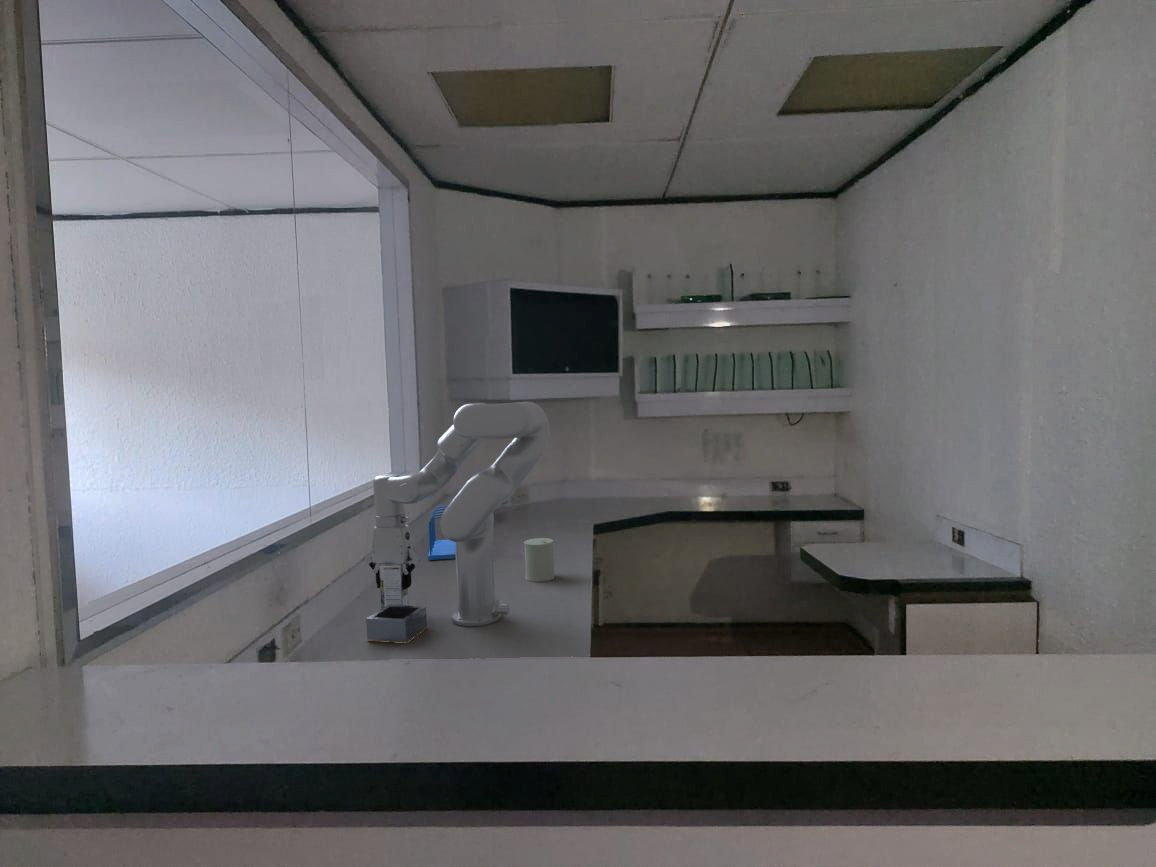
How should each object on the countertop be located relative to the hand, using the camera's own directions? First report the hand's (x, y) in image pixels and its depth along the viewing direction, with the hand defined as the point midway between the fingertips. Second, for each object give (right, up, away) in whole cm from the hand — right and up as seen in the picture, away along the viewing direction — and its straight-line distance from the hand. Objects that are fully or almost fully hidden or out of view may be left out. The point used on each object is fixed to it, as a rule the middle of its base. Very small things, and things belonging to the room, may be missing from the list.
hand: (394, 586), depth 179 cm
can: (+37, -4, +31) cm, 49 cm away
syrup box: (0, -8, +1) cm, 8 cm away
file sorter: (+3, -3, +70) cm, 70 cm away
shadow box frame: (+5, -9, -14) cm, 17 cm away
